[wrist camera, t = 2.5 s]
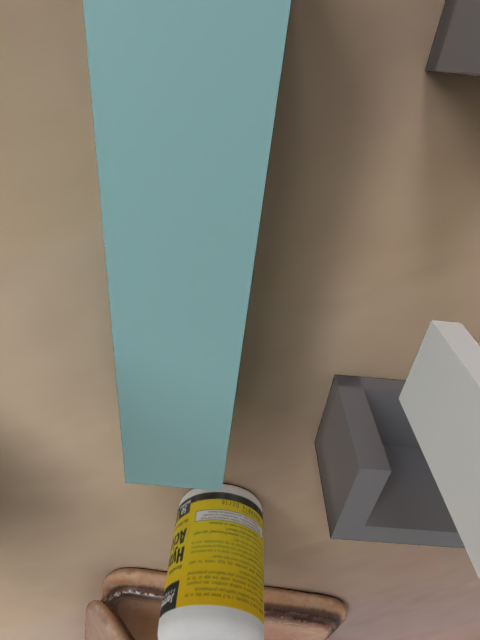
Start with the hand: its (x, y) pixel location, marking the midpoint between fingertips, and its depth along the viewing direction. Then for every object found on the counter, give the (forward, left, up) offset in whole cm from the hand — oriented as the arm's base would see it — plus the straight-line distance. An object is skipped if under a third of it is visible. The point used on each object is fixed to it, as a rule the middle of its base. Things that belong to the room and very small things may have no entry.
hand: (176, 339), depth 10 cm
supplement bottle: (+18, +2, -6) cm, 19 cm away
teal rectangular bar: (0, 0, -6) cm, 6 cm away
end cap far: (+8, +11, -6) cm, 15 cm away
